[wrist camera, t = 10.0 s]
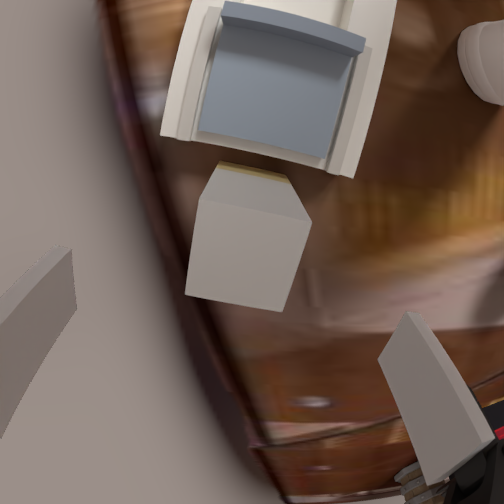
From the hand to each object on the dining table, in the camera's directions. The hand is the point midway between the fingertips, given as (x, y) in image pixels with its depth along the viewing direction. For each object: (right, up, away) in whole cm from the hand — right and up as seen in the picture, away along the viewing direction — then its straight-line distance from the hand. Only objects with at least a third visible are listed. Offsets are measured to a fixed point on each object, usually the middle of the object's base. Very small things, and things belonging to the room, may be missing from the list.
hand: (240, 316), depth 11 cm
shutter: (+2, +13, +6) cm, 14 cm away
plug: (0, +6, +12) cm, 14 cm away
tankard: (+43, -56, +44) cm, 83 cm away
